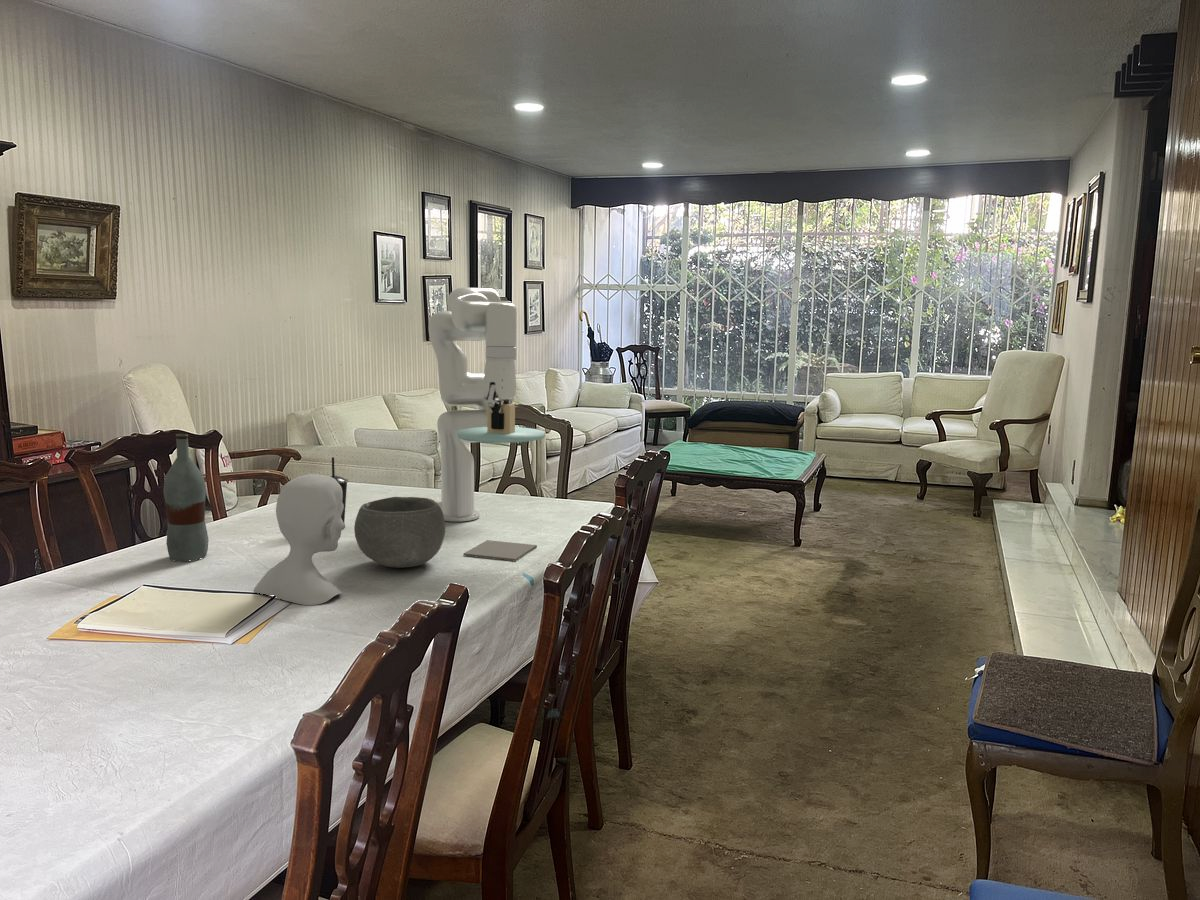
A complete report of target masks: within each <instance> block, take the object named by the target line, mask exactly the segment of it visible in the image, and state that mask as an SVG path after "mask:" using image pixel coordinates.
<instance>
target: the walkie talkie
mask: <svg viewBox="0 0 1200 900" xmlns="http://www.w3.org/2000/svg"><path fill="white" fill-rule="evenodd" d="M335 470H336V469H335V457H334V456H333V457H331V475H329V476H330V477H332V478H334V479H335V480H336V481H337V482H338V483H339V484H340V486H341V488H342V492H343V499H342V503H343V505H344V508H343V512H342V515H341V518H342V520H343V523H344V524H345V519H346V518H345V517H346V507H347V506H346V503H347V489H348V482H349V480H348V478H345V477H342V476H339V475H336V474H335V473H336V472H335ZM343 530H344V529H342V531H343Z"/></svg>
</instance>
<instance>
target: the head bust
mask: <svg viewBox="0 0 1200 900" xmlns="http://www.w3.org/2000/svg"><path fill="white" fill-rule="evenodd" d="M330 476H331V475H327V474H326V475H325V474H317V473H315V474H314V473H309V474H304V475H300V476H297V477H295V478H293V479H291V480H289V481H288V482H286V483H285V484H284V485H283V487H282V488H281V491H280V492H279V494H278V497H277V500H276V505H275V515H276V520H277V525H278V528H279V531H280V533H281V534H282V536H283V537H284V538H285V540H287V542H288V544H289V548H290V549H289V550H290V551H289V553H288V555H287V556H286V557H285V558H284V559H283V560H282V561H280V562H278V563H277V564H276V565H274V566H272V567H271V568H270V569H269V570H267V571H266V573H265V574H264V575H263V576H262V578H261V579H260V580H259V582H258V583H257V585H256V586H255V587H254V589H253V591H254V592H255V593H257V594H259V593H260V594H259V595H263V594H267V595H274V596H276V597H277V598H279V599H278V600H280V599H282V600H281V601H286V602H291V603H292V604H293V603H294V604H298V605H303V606H315V605H321V604H324V603H326V602H329V601H330V600H331V599H332V598H333V597H335V596H337V595H339V594H343V593H342V591H341V590H339V588H338V587H337V586H336V585H334V584H332V583H331V582H330V581H329V580H328V579H326V577H324V576H323V575H322V574H321V572H319V570H318V569H317V568H316V566H315V563H313V556H314V554H317V553H323V552H325V553H327V552H335V551H336V550H337V549H338V547H339V540H340V538H341V535H342V531H343V530H344V529H345V528H346V524H345V522H344V523H343V520H342V518H341V515H342V512H343V508H344V505H343V503H342V499H343V492H342V488H341V486H340V484H339V483H338V482H337V481H336V480H335V479H334V478H332V477H330ZM342 529H343V530H342Z"/></svg>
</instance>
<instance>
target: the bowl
mask: <svg viewBox="0 0 1200 900" xmlns="http://www.w3.org/2000/svg"><path fill="white" fill-rule="evenodd" d="M436 502H437V501H435V500H434V499H431V498H428V497H420V496H417V497H416V496H391V497H386V498H381V499H375V500H371V501H368V502H365V503H363V504H362V505H361V506H360V508H359V509H358V512H357V515H356V517H355V520H354V537H355V540H356V543H357V547H358V548H359V549H360V551H361V552H362V553H363V554H364V556H365V557H367V558H369V559H371V560H372V561H373V562H375V563H377V564H378V565H381V566H384V567H388V568H397V569H398V568H413V567H418V566H420V565H424V564H426V563H427V562H429V561H431V560H432V559H433V558H434V557H435V556H436V555H437V554H438V553H439V551H440V550H441V547H442V545H443V543H444V542H443V541H444V539H445V535H446V521H445V520H444V515H443V512H442V510H441V508H440V506H439V505H438V504H437V503H436Z"/></svg>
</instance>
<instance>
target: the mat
mask: <svg viewBox="0 0 1200 900" xmlns="http://www.w3.org/2000/svg"><path fill="white" fill-rule="evenodd" d="M537 547H538V545H537V544H528V543H518V542H508V541H502V540H501V541H500V540H499V541H498V540H491V539H490V540H489V539H487V540H485V541H483V542H482V543H480V544H478V545H476V546H475V547H472V548H471V549H469V550H467V551H465V552H464V553H463V556H464V555H466V556H465V557H470V556H477V557H476V558H480V557H487V558H486V559H489V558H495V559H494V560H499V559H504V560H503V561H508V560H514V561H513V562H517V561H518V560H520V559H521V558H523V557H524V555H525V554H526V555H528V554H529V553H531V552H533V551H534V550H535V549H537ZM533 549H534V550H533ZM530 551H531V552H530ZM528 552H529V553H528ZM527 553H528V554H527ZM526 555H525V556H526ZM522 556H523V557H522ZM519 558H520V559H519ZM516 560H517V561H516Z"/></svg>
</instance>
